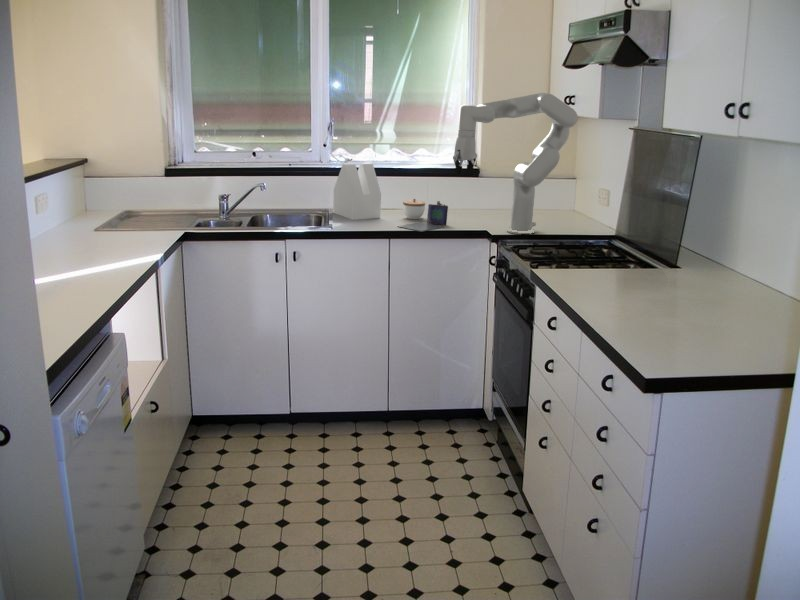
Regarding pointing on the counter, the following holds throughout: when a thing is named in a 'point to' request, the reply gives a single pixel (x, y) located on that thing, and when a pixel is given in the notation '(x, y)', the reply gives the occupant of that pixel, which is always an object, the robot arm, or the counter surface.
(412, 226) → the slate board
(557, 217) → the counter surface
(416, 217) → the lidded jar
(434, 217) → the blue clover wallet
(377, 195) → the grey notched block
